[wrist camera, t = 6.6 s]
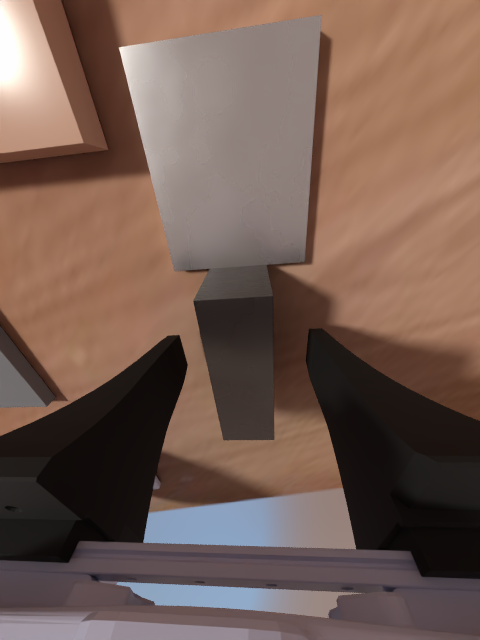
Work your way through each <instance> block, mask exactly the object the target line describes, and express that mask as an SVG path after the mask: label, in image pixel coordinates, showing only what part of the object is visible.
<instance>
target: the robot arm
mask: <svg viewBox="0 0 480 640" xmlns="http://www.w3.org/2000/svg"><path fill="white" fill-rule="evenodd" d="M306 363H307V368H308V372H309V376H310V380H311V382H312V385H313V388H314V391H315V393H316V396H317V399H318V401H319V404H320V407H321V409H322V412H323V415H324V417H325V420H326V423H327V426H328V429H329V433H330V437H331V441H332V444H333V448H334V452H335V456H336V460H337V464H338V468H339V472H340V476H341V481H342V485H343V489H344V494H345V498H346V502H347V507H348V511H349V516H350V521H351V526H352V530H353V535H354V540H355V545H356V550H355V549H324V548H292V547H291V548H290V547H258V546H227V545H194V544H160V543H143V540H144V534H145V528H146V523H147V517H148V512H149V506H150V501H151V496H152V491H153V489H159V488H160V485H161V483H160V481H159V480H158V478H157V476H156V472H157V468H158V463H159V459H160V455H161V451H162V447H163V443H164V439H165V435H166V431H167V428H168V425H169V422H170V419H171V416H172V414H173V411H174V408H175V406H176V403H177V400H178V397H179V395H180V392H181V389H182V386H183V383H184V380H185V375H186V371H187V366H188V364H187V361H186V357H185V354H184V350H183V347H182V343H181V339H180V336H179V335H173V336H167V337H166V338H164V339H163V340H162V341H160V342H159V343H158V344H157V345H155V346H154V347H153V348H152V349H151V350H149V351H148V352H147V353H146V354H144V355H143V356H142V357H141V358H140V359H138V360H137V361H136V362H134V363H133V364H132V365H130V366H129V367H128V368H126V369H125V370H124V371H122V372H121V373H120V374H118V375H117V376H115V377H114V378H112V379H111V380H110V381H108V382H106V383H105V384H103V385H102V386H100V387H99V388H97V389H95V390H94V391H92V392H90V393H88V394H87V395H85V396H83V397H81V398H80V399H78V400H76V401H74V402H72V403H71V404H69V405H67V406H65V407H63V408H61V409H59V410H57V411H55V412H53V413H51V414H49V415H47V416H45V417H43V418H41V419H39V420H36V421H34V422H32V423H30V424H28V425H25V426H23V427H21V428H18V429H16V430H14V431H11V432H9V433H7V434H4V435H2V436H0V640H480V421H478V420H475V419H473V418H470V417H468V416H465V415H463V414H461V413H459V412H456V411H454V410H452V409H450V408H447V407H445V406H443V405H440V404H438V403H436V402H434V401H432V400H430V399H428V398H426V397H424V396H422V395H420V394H418V393H416V392H414V391H412V390H410V389H408V388H406V387H404V386H403V385H401V384H399V383H397V382H395V381H394V380H392V379H390V378H389V377H387V376H385V375H384V374H382V373H380V372H379V371H377V370H376V369H374V368H372V367H371V366H370V365H368V364H367V363H365V362H364V361H362V360H361V359H359V358H358V357H357V356H355V355H354V354H353V353H351V352H350V351H349V350H347V349H346V348H345V347H344V346H342V345H341V344H340V343H339V342H338V341H336V340H335V339H334V338H333V337H332V336H330V335H329V334H328V333H327V332H326V331H324V330H323V329H322V328H319V329H309V333H308V344H307V355H306ZM117 582H136V583H158V584H180V585H201V586H223V587H225V586H226V587H245V588H246V587H247V588H268V589H290V590H311V591H332V592H354V593H355V592H356V593H362V594H352V595H342V596H338V599H337V605H338V607H336V608H334V609H332V610H330V612H329V614H328V615H329V618H321V617H312V616H303V615H295V614H285V613H275V612H265V611H253V610H240V609H227V608H210V607H191V606H158V605H157V606H156V605H155V603H154V602H153V601H150V600H147V599H145V598H142V597H140V596H138V595H137V594H135V593H133V591H132V590H131V589H130V587H126V586H119V585H116V584H117Z"/></svg>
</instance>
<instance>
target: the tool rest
mask: <svg viewBox="0 0 480 640" xmlns="http://www.w3.org/2000/svg"><path fill="white" fill-rule="evenodd" d="M54 398H55V396H54V395H53V393H52V392H51V391H50V389H49V388H48V387H47V386H46V384H45V383H44V382H43V380H42V379H41V378H40V377H39V375H38V374H37V373H36V371H35V370H34V369H33V368H32V366H31V365H30V364H29V362H28V361H27V360H26V359H25V357H24V356H23V355H22V353H21V352H20V351H19V350H18V348H17V347H16V346H15V344H14V343H13V342H12V341H11V339H10V338H9V337H8V335H7V334H6V333H5V331H4V330H3V329H2V328H1V326H0V408H2V407H47V406H48V405H49V404H50V403H51V402H52V401H53V400H54Z"/></svg>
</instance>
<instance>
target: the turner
mask: <svg viewBox="0 0 480 640" xmlns="http://www.w3.org/2000/svg"><path fill="white" fill-rule="evenodd" d="M321 16H322V15H318V16H312V17H306V18H299V19H293V20H287V21H281V22H274V23H268V24H262V25H256V26H250V27H243V28H237V29H231V30H225V31H218V32H212V33H206V34H200V35H194V36H187V37H181V38H175V39H169V40H162V41H156V42H150V43H144V44H138V45H131V46H125V47H119V50H120V54H121V58H122V62H123V66H124V70H125V74H126V78H127V82H128V86H129V90H130V94H131V98H132V102H133V106H134V110H135V114H136V118H137V122H138V126H139V130H140V134H141V138H142V142H143V146H144V150H145V155H146V159H147V163H148V167H149V171H150V175H151V179H152V183H153V187H154V191H155V195H156V199H157V203H158V207H159V211H160V215H161V219H162V223H163V227H164V231H165V235H166V239H167V243H168V247H169V251H170V255H171V259H172V263H173V268H174V271H185V270H199V269H210V270H209V272H208V274H207V276H206V277H205V279H204V281H203V283H202V285H201V287H200V289H199V291H198V293H197V295H196V297H195V299H194V301H193V302H194V306H195V311H196V316H197V320H198V325H199V329H200V334H201V339H202V343H203V348H204V352H205V357H206V362H207V366H208V371H209V375H210V380H211V385H212V389H213V394H214V398H215V403H216V408H217V412H218V417H219V421H220V426H221V431H222V435H223V440H274V342H273V293H272V288H271V284H270V279H269V274H268V270H267V265H269V264H283V263H297V262H305V249H306V235H307V220H308V206H309V191H310V176H311V162H312V147H313V133H314V118H315V103H316V89H317V74H318V59H319V45H320V30H321Z"/></svg>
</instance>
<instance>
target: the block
mask: <svg viewBox="0 0 480 640" xmlns="http://www.w3.org/2000/svg"><path fill="white" fill-rule="evenodd" d="M104 150H108V147H107V144H106V141H105V138H104V135H103V131H102V128H101V125H100V122H99V119H98V116H97V112H96V109H95V106H94V103H93V100H92V97H91V93H90V90H89V87H88V84H87V81H86V78H85V74H84V71H83V68H82V65H81V62H80V59H79V55H78V52H77V49H76V46H75V43H74V40H73V36H72V33H71V30H70V27H69V24H68V21H67V17H66V14H65V11H64V8H63V5H62V2H61V0H0V163H6V162H14V161H22V160H30V159H38V158H47V157H55V156H63V155H71V154H79V153H88V152H96V151H104Z"/></svg>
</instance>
